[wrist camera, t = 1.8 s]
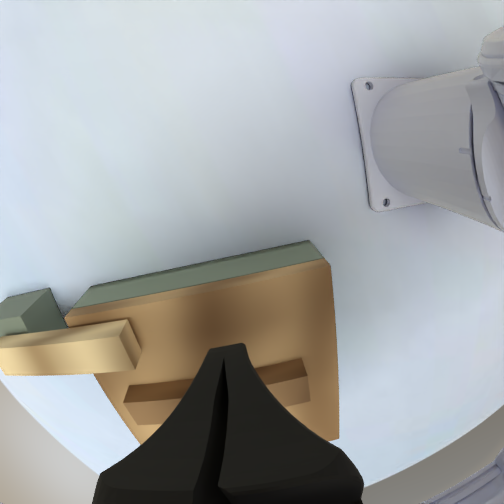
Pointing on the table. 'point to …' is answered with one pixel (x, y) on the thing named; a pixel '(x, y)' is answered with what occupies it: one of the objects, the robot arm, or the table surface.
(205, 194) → the table surface
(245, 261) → the green piece
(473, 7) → the table surface
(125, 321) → the light wooden bar
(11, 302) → the block
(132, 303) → the lid
